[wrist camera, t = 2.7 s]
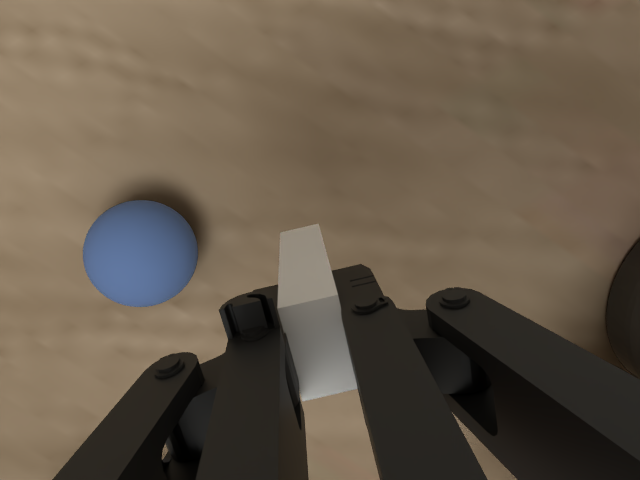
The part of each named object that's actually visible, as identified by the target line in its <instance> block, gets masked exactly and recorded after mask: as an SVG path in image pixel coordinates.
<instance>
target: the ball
mask: <svg viewBox="0 0 640 480" xmlns="http://www.w3.org/2000/svg"><path fill="white" fill-rule="evenodd" d="M197 259H198V247H197V241H196V238H195V235H194V232H193V230H192V229H191V227H190V225H189V224H188V223H187V221H186V220H185V219H184V218H183V217H182V216H181V215H180V214H179V213H178V212H176V211H175V210H173V209H172V208H170V207H168V206H166V205H164V204H161V203H158V202H154V201H148V200H134V201H127V202H124V203H121V204H118V205H116V206H114V207H112V208H110V209H108V210H107V211H105V212H104V213H103V214H102V215H101V216H99V217H98V218H97V220H96V221H95V222H94V223H93V225H92V226H91V228H90V229H89V231H88V233H87V236H86V238H85V242H84V247H83V261H84V266H85V270H86V273H87V275H88V277H89V279H90V280H91V282H92V284H93V285H94V286H95V287H96V288H97V289H98V290H99V291H100V292H101V293H102V294H103V295H104V296H106V297H107V298H109V299H111V300H112V301H115V302H117V303H120V304H123V305H127V306H134V307H147V306H153V305H156V304H160V303H163V302H165V301H167V300H169V299H171V298H172V297H174V296H175V295H177V294H178V293H179V292H180V291H181V290H182V289H183V288H184V287H185V286H186V285H187V284H188V282H189V281H190V279H191V277H192V275H193V273H194V271H195V268H196V265H197Z"/></svg>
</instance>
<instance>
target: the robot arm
mask: <svg viewBox="0 0 640 480" xmlns="http://www.w3.org/2000/svg"><path fill="white" fill-rule="evenodd" d="M426 309H427V310H402V309H398V308H396V306H395V304H394V303H393V301H392V300H391V299H390V298H389V297H386V296H384V295H383V293H382V291H381V289H380V287H379V285H378V283H377V282H376V279H375V277H374V275H373V273H372V271H371V269H370V268H368V267H366V266H364V265H362V264H359V265H355V266H351V267H346V268H342V269H338V270H333V271H331V267H330V264H329V260H328V256H327V253H326V249H325V245H324V242H323V238H322V234H321V231H320V227H319V224H314V225H310V226H306V227H301V228H297V229H293V230H288V231H284V232H280V250H279V277H278V285H274V286H269V287H265V288H261V289H256V290H254V291H253V292H250V293H246V294H242V295H239V296H237V297H235V298H233V299H230V300H229V301H227V302H226V303H225V304H223V305H222V306H221V308H220V309H219V312H220V315H221V318H222V322H223V325H224V328H225V331H226V334H227V337H228V343H227V347H226V352H225V353H224V354H222V355H220V356H218V357H216V358H214V359H212V360H209V361H207V362H204V363H202V364H199V362H198V359H197V356H196V355H195V354H193V353H188V352H182V353H177V354H170V355H168V356H165V357H163V358H161V359H160V360H159V361H157V362H155V363H154V364H152V365H151V366H150V367H149V368H147V369H146V370H145V371H144V372H143V374H142V375H141V376H140V377H139V378H138V379H137V381H136V382H135V383H134V384H133V385H132V387H131V388H130V389H129V390H128V391H127V392H126V394H125V395H124V396H123V397H122V398H121V399H120V401H119V402H118V403H117V404H116V405H115V407H114V408H113V409H112V410H111V411H110V412H109V414H108V415H107V416H106V417H105V418H104V419H103V421H102V422H101V423H100V424H99V425H98V427H97V428H96V429H95V430H94V431H93V432H92V434H91V435H90V436H89V437H88V438H87V439H86V441H85V442H84V443H83V444H82V445H81V447H80V448H79V449H78V450H77V451H76V452H75V454H74V455H73V456H72V457H71V458H70V459H69V461H68V462H67V463H66V464H65V465H64V467H63V468H62V469H61V470H60V471H59V472H58V474H57V475H56V476H55V477H54V478H53V479H52V480H308V465H307V450H306V434H305V419H304V412H303V408H302V404H301V401H300V395H299V390H300V393H301V397H302V401H307V400H311V399H315V398H320V397H324V396H328V395H333V394H337V393H341V392H346V391H350V390H354V389H358V392H359V396H360V401H361V405H362V409H363V414H364V418H365V423H366V425H367V429H368V433H369V437H370V441H371V445H372V449H373V453H374V457H375V461H376V465H377V469H378V473H379V477H380V480H487V478H486V476H485V474H484V472H483V470H482V468H481V466H480V465H479V463H478V461H477V459H476V457H475V455H474V453H473V451H472V449H471V448H470V446H469V444H468V442H467V440H466V438H465V436H464V434H463V433H462V431H461V429H460V427H459V425H458V423H457V421H456V419H455V417H454V416H453V414H454V415H455V416H456V417H457V418H458V419H459V420H460V421H461V422H462V423H463V424H464V425H465V426H466V427H467V428H468V429H469V430H470V431H471V432H472V433H473V434H474V435H475V436H476V437H477V438H478V439H479V440H480V441H481V442H482V443H483V444H484V445H485V446H486V447H487V448H488V450H489V451H490V452H491V453H492V454H493V455H494V456H495V457H496V458H497V459H498V460H499V461H500V462H501V463H502V464H503V465H504V466H505V467H506V468H507V469H508V470H509V471H510V472H511V473H512V474H513V475H514V476H515V477H516V478H517V479H518V480H640V241H639V242H638V243H637V244H636V245H635V246H634V248H633V249H632V250H631V252H630V253H629V254H628V256H627V257H626V259H625V260H624V262H623V264H622V266H621V267H620V269H619V271H618V273H617V275H616V278H615V280H614V283H613V285H612V288H611V291H610V295H609V299H608V305H607V331H608V336H609V340H610V343H611V346H612V348H613V350H614V353H615V354H616V356H617V358H618V359H619V360H620V362H621V363H622V364H623V365H624V367H625V368H626V369H627V370H629V371H630V372H631V373H632V374H633V375H635V376H636V377H637V378H636V377H634V376H632V375H630V374H629V373H627V372H625V371H623V370H621V369H619V368H618V367H616V366H614V365H612V364H610V363H608V362H607V361H605V360H603V359H601V358H599V357H597V356H596V355H594V354H592V353H590V352H588V351H586V350H585V349H583V348H581V347H579V346H577V345H575V344H573V343H572V342H570V341H568V340H566V339H564V338H562V337H561V336H559V335H557V334H555V333H553V332H551V331H550V330H548V329H546V328H544V327H542V326H540V325H539V324H537V323H535V322H533V321H531V320H529V319H527V318H526V317H524V316H522V315H520V314H518V313H516V312H515V311H513V310H511V309H509V308H507V307H505V306H504V305H502V304H500V303H498V302H496V301H494V300H493V299H491V298H489V297H487V296H485V295H483V294H482V293H480V292H477V291H475V290H472V289H466V288H460V287H454V288H447V289H445V290H442V291H438V292H436V293H434V294H432V295H431V296H430V297H429V298H428V299H427V300H426ZM638 378H639V379H638ZM451 411H452V412H451ZM452 413H453V414H452ZM165 443H166V446H167V448H168V452H167V454H166V456H165V457H164V459H163V460H161V459H162V450H163V447H164V445H165Z"/></svg>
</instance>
